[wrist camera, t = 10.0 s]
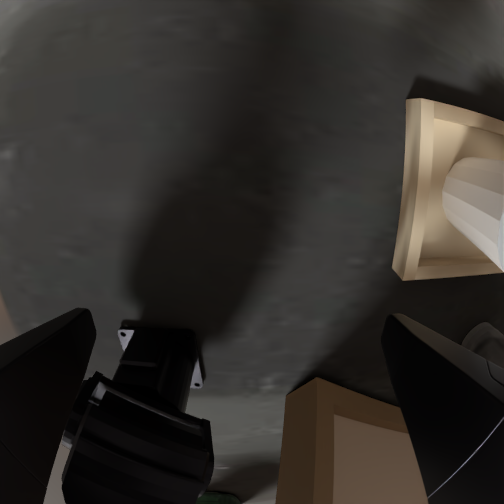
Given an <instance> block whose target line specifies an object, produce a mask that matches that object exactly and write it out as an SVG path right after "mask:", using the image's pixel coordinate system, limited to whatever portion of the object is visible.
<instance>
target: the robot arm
mask: <svg viewBox="0 0 504 504" xmlns="http://www.w3.org/2000/svg"><path fill="white" fill-rule="evenodd" d="M123 332H124V333H125V334H124V333H123ZM186 335H189V336H191V337H187V336H186ZM118 336H119V339H120V342H121V345H122V348H123V351H124V353H123V355H122V357H121V359H120V364H119V366H118V368H117V370H116V373H115V375H114V377H113V379H112V380H110V379H108V378H106V377H105V376H103V374H101V373H100V372H98V371H96V372H95V374H94V375H93V377H92V378H91V377H89V379H88V380H84V381H83V379H84V376H85V373H86V370H87V366H88V363H89V359H90V356H91V353H92V349H93V346H94V343H95V340H96V328H95V325H94V322H93V318H92V314H91V312H90V310H89V309H86V308H75V309H73V310H71V311H69V312H67V313H65V314H63V315H61V316H59V317H57V318H55V319H53V320H50V321H48V322H46V323H44V324H42V325H40V326H38V327H36V328H34V329H32V330H30V331H28V332H26V333H24V334H22V335H20V336H18V337H16V338H14V339H12V340H10V341H8V342H6V343H4V344H2V345H0V504H43V502H44V497H45V494H46V490H47V488H46V487H47V485H48V482H49V478H50V475H51V471H52V468H53V464H54V461H55V457H56V454H57V451H58V448H59V445H60V442H61V439H62V436H63V439H62V445H63V446H64V447H66V448H68V449H70V453H69V456H68V459H67V461H66V464H65V467H64V471H63V474H62V483H63V484H62V491H63V495H64V500H65V503H66V504H196V501H197V498H199V497H200V496H202V495H203V493H204V492H205V491H206V489H207V487H208V485H209V483H210V480H211V477H212V474H213V469H214V454H213V445H212V436H211V427H210V421H209V420H206V419H199V418H197V417H194V416H191V415H189V414H186V413H185V411H186V406H187V401H188V396H189V391H190V388H197V389H199V388H202V387H203V377H202V372H201V366H200V361H199V355H198V349H197V343H196V337H195V333H194V332H193V331H192V330H188V329H162V328H140V327H120V329H119V330H118ZM381 344H382V348H383V352H384V356H385V360H386V364H387V368H388V372H389V376H390V380H391V383H392V386H393V389H394V392H395V395H396V398H397V400H398V403H399V406H400V409H401V412H402V415H403V418H404V421H405V424H406V427H407V430H408V433H409V436H410V439H411V443H412V446H413V449H414V452H415V456H416V459H417V463H418V466H419V469H420V473H421V477H422V480H423V484H424V488H425V492H426V496H427V498H428V499H427V500H428V504H504V369H503V368H501V367H499V366H497V365H495V364H493V363H492V362H490V361H488V360H487V361H486V359H484V358H482V357H481V356H479V355H477V354H475V353H473V352H471V351H470V350H468V349H466V348H464V347H462V346H461V345H459V344H457V343H455V342H453V341H451V340H450V339H448V338H446V337H444V336H442V335H440V334H438V333H437V332H435V331H433V330H431V329H429V328H427V327H425V326H424V325H422V324H420V323H418V322H416V321H414V320H412V319H411V318H409V317H407V316H405V315H403V314H401V313H397V314H389V315H388V316H387V319H386V322H385V325H384V329H383V332H382V336H381ZM82 381H83V383H82ZM198 383H199V384H198ZM81 384H82V385H81Z"/></svg>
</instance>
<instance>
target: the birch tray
mask: <svg viewBox="0 0 504 504" xmlns="http://www.w3.org/2000/svg"><path fill="white" fill-rule="evenodd" d="M467 157H478V158H487V159H495V160H503V161H504V121H501V120H498V119H495V118H492V117H489V116H486V115H483V114H480V113H477V112H473V111H470V110H467V109H463V108H460V107H456V106H452V105H448V104H444V103H440V102H436V101H432V100H427V99H423V98H416V99H407V100H406V140H405V162H404V176H403V188H402V199H401V208H400V217H399V225H398V232H397V239H396V246H395V252H394V258H393V264H392V269H393V270H394V271H395V272H396V273H397V274H398V276H399V277H400V278H401V279H402V280H403V281H406V280H421V279H435V278H448V277H460V276H472V275H483V274H494V273H504V272H503V271H502V270H501V269H500V268H499V267H498V266H497V265H496V264H495V263H494V262H493V261H492V260H491V259H490V258H489V257H488V256H487V255H485V254H484V253H483V252H482V251H481V250H480V249H479V248H478V247H477V246H476V245H474V244H473V243H472V242H471V241H470V240H469V239H468V238H467V237H465V236H464V235H463V234H462V233H461V232H460V231H458V230H457V229H456V228H455V227H454V226H453V225H452V224H451V223H450V222H449V220H448V219H447V218H446V215H445V212H444V209H443V206H442V190H443V187H444V183H445V179H446V176H447V174H448V173H449V171H450V170H451V168H452V167H453V165H454V164H455V163H457V162H458V161H460V160H461V159H463V158H467Z"/></svg>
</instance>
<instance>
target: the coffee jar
mask: <svg viewBox="0 0 504 504" xmlns="http://www.w3.org/2000/svg"><path fill="white" fill-rule="evenodd" d="M196 504H241V502H240V501H239V500H238V499H237V498H236V497H235V496H233V495H230V494H222V493H218V492H204V493H203V495H202V496H200V497H199V498H197V501H196Z"/></svg>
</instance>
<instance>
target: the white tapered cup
mask: <svg viewBox="0 0 504 504" xmlns="http://www.w3.org/2000/svg"><path fill="white" fill-rule="evenodd" d="M442 206H443V209H444V212H445V215H446V218H447V219H448V220H449V222H450V223H451V224H452V225H453V226H454V227H455V228H456V229H457V230H458V231H460V232H461V233H462V234H463V235H464V236H465V237H467V238H468V239H469V240H470V241H471V242H472V243H473V244H474V245H476V246H477V247H478V248H479V249H480V250H481V251H482V252H483V253H484V254H485V255H487V256H488V257H489V258H490V259H491V260H492V261H493V262H494V263H495V264H496V265H497V266H498V267H499V268H500V269H501V270H502V271H503V272H504V161H503V160H495V159H487V158H478V157H467V158H463V159H461V160H460V161H458V162H457V163H455V164H454V165H453V167H452V168H451V170H450V171H449V173H448V174H447V176H446V179H445V183H444V187H443V190H442Z"/></svg>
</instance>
